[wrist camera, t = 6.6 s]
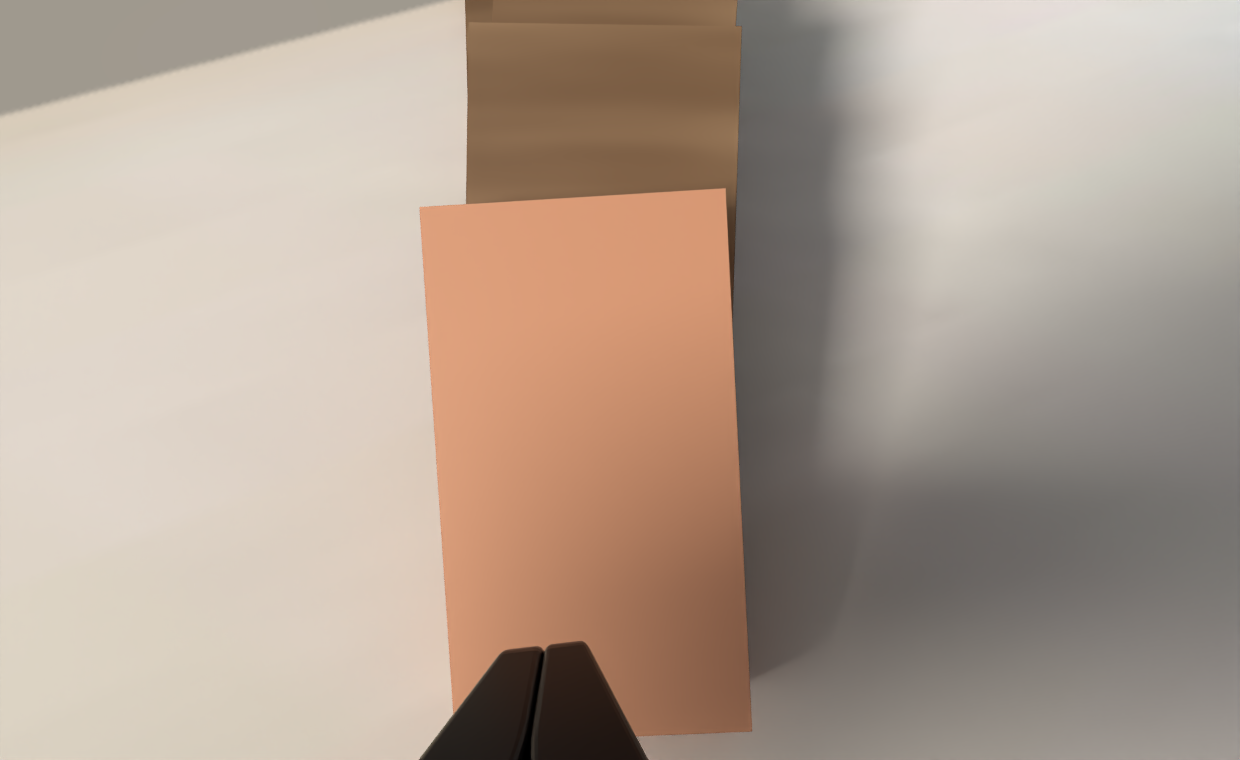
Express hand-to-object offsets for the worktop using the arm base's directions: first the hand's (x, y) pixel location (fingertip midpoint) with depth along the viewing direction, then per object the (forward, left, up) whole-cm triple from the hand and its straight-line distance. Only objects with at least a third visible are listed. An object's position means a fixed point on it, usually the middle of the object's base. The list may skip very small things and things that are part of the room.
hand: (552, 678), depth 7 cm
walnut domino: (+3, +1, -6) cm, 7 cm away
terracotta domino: (0, 0, -6) cm, 6 cm away
